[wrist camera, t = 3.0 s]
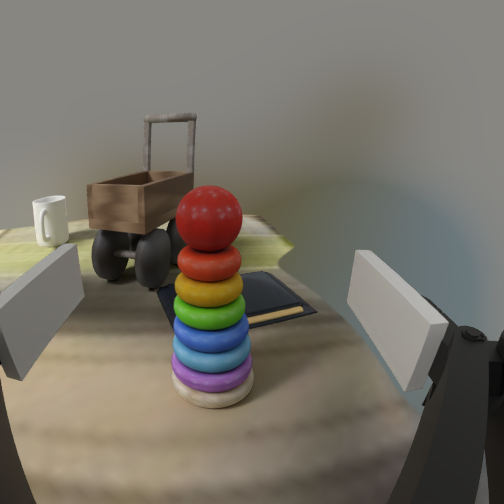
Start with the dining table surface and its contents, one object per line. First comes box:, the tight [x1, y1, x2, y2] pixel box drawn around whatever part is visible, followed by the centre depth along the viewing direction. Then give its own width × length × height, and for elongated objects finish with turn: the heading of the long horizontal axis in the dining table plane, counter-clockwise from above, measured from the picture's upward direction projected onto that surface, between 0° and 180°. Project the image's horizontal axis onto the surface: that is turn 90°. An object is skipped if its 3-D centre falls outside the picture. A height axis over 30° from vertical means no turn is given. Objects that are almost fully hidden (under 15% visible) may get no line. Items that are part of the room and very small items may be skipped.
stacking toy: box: [171, 186, 254, 408], centre depth 26 cm, size 8×8×19 cm
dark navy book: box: [157, 271, 317, 330], centre depth 45 cm, size 20×2×15 cm
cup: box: [33, 196, 69, 247], centre depth 60 cm, size 8×12×10 cm
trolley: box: [87, 113, 197, 288], centre depth 49 cm, size 10×19×27 cm, turn 169°
